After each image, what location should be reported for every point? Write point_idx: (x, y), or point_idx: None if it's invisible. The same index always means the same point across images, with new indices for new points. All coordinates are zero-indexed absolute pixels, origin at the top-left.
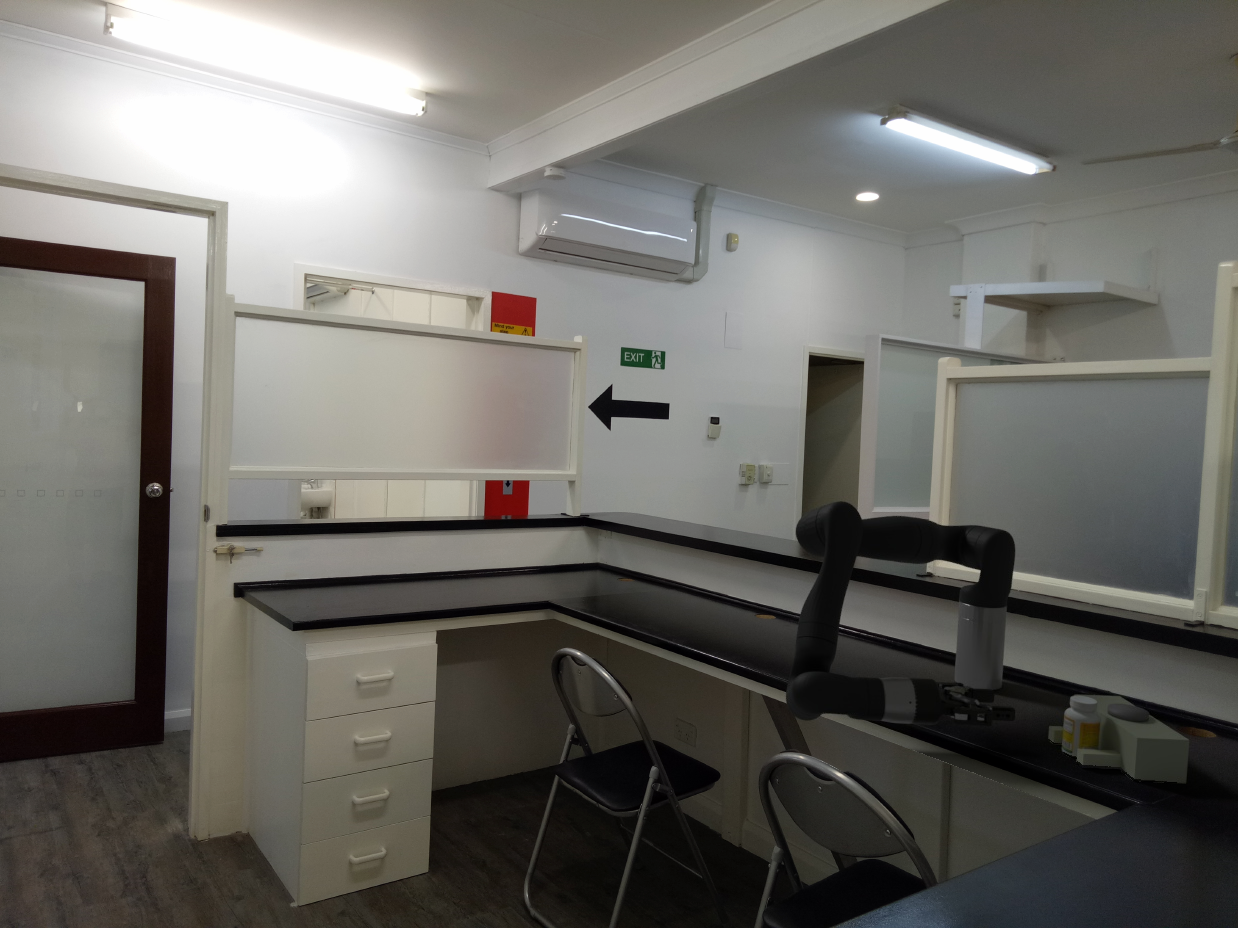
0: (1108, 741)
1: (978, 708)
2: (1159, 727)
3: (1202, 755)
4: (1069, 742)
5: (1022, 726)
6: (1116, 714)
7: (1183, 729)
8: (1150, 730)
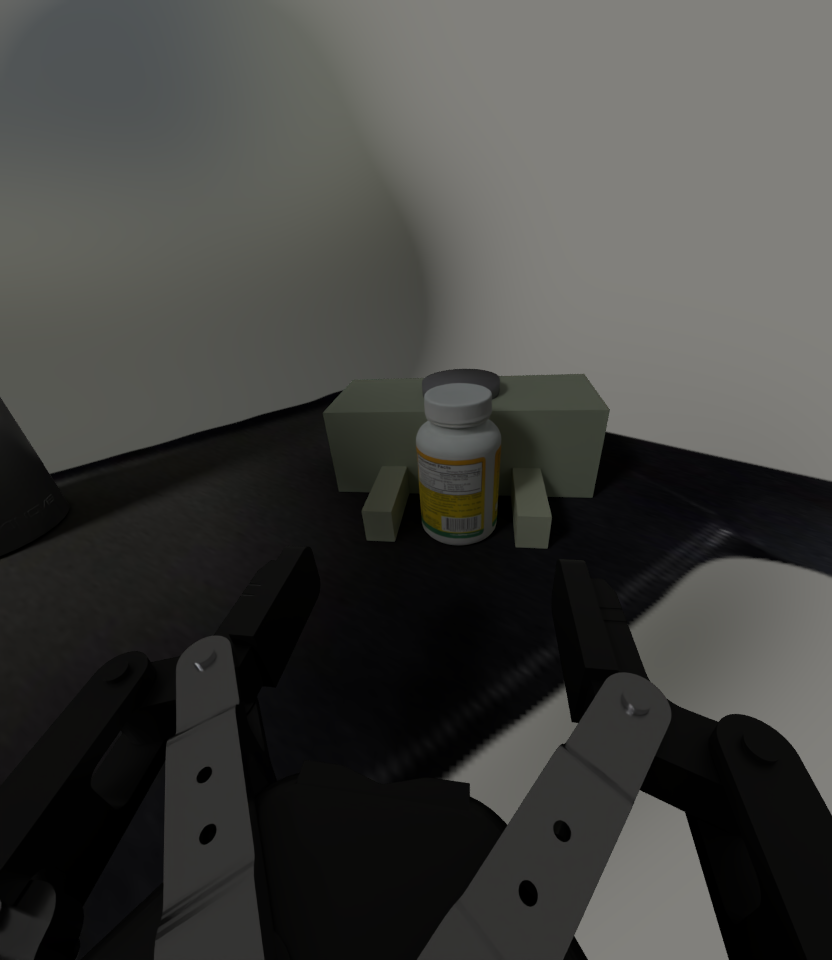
0: None
1: (766, 851)
2: (523, 382)
3: None
4: (475, 515)
5: (274, 555)
6: None
7: None
8: (547, 391)
